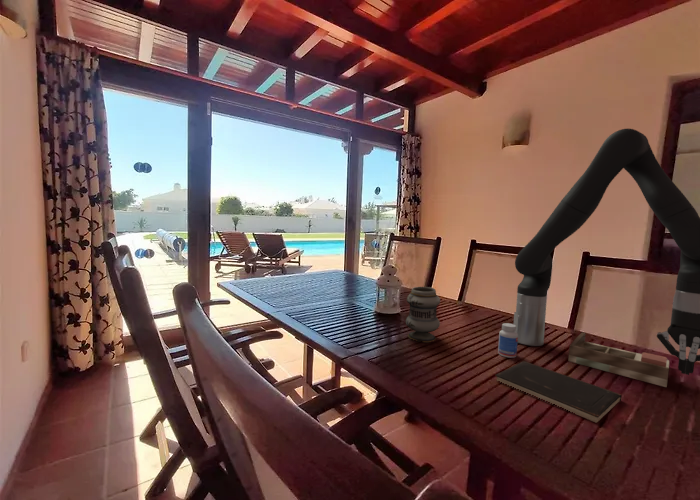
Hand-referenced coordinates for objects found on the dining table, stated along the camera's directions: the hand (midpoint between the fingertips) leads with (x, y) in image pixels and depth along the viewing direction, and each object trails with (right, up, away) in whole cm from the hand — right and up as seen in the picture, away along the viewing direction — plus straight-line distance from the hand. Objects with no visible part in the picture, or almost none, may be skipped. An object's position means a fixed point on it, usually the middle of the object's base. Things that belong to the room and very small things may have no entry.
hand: (685, 373), depth 87 cm
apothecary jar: (-62, 0, +33) cm, 70 cm away
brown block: (-5, -1, +4) cm, 6 cm away
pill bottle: (-38, -1, +19) cm, 42 cm away
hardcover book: (-36, -4, -3) cm, 37 cm away
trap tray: (-7, -2, +13) cm, 15 cm away
